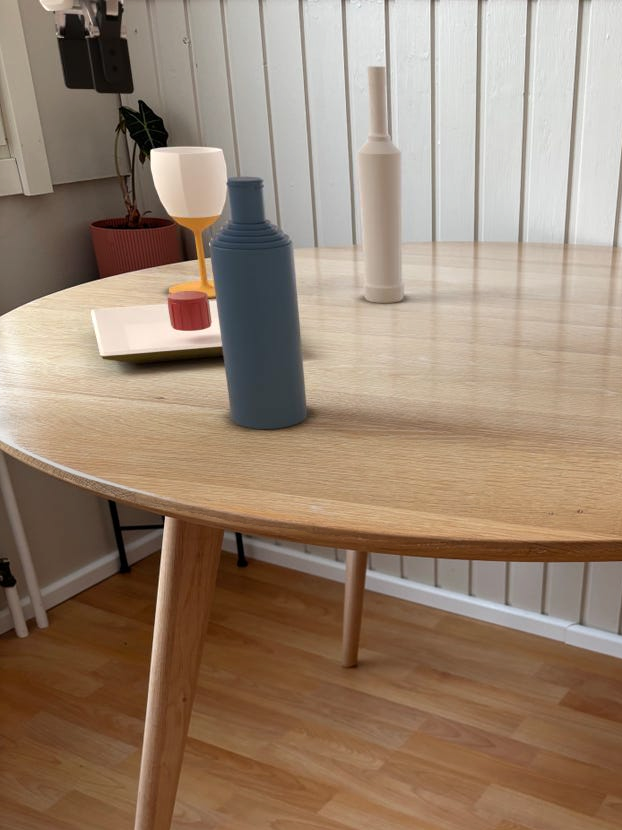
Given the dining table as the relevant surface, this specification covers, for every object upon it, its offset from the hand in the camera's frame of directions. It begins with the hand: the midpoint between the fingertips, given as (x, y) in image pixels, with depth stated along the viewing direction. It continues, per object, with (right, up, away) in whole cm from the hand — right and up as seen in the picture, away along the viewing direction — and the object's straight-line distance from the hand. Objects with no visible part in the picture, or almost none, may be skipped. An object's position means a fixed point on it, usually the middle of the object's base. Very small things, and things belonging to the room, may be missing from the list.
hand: (98, 91), depth 84 cm
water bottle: (+16, -30, -3) cm, 34 cm away
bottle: (+22, -6, +35) cm, 41 cm away
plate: (+3, -18, +16) cm, 24 cm away
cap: (+4, -17, +14) cm, 22 cm away
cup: (-1, -4, +37) cm, 37 cm away
